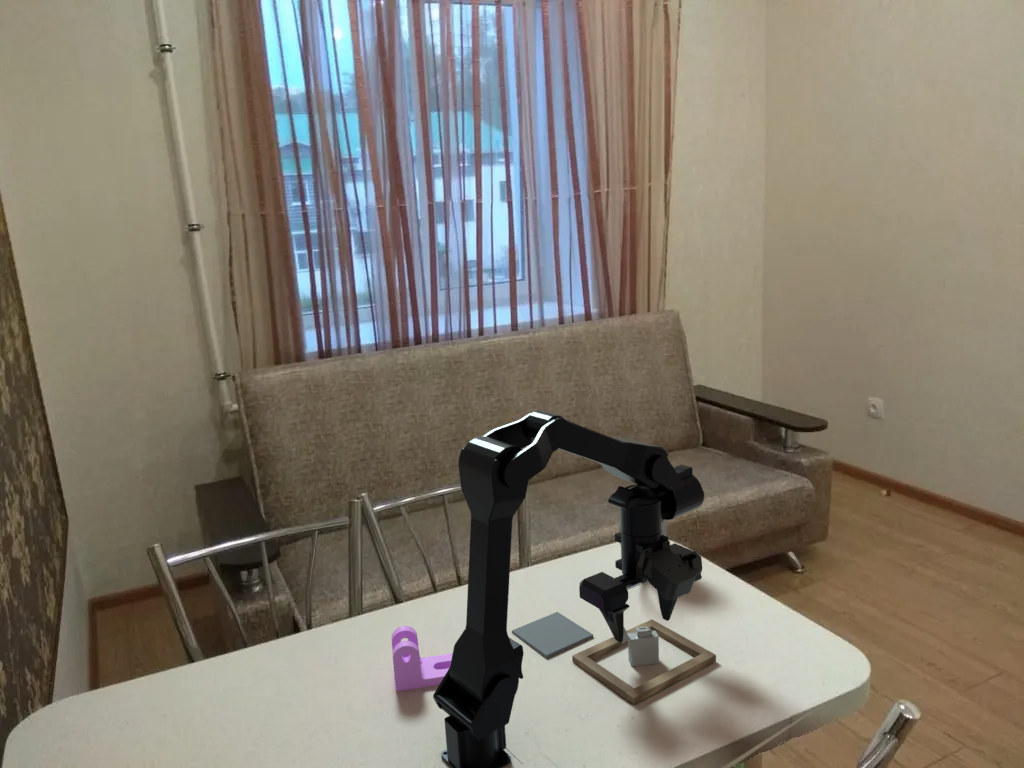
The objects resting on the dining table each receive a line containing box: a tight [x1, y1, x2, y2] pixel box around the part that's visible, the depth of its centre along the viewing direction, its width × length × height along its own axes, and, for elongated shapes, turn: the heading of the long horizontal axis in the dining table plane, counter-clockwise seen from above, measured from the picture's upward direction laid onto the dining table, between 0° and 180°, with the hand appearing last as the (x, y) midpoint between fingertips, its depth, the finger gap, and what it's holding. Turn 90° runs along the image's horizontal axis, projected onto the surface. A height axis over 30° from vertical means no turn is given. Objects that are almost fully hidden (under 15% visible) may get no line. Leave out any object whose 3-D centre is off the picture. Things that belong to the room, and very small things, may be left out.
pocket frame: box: [571, 618, 717, 705], centre depth 116 cm, size 16×13×1 cm
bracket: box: [391, 625, 453, 692], centre depth 115 cm, size 13×6×7 cm, turn 100°
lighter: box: [622, 627, 660, 667], centre depth 115 cm, size 7×2×8 cm, turn 96°
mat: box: [511, 611, 594, 659], centre depth 124 cm, size 9×9×1 cm
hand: (643, 630), depth 115 cm, fingers open, 9 cm apart
